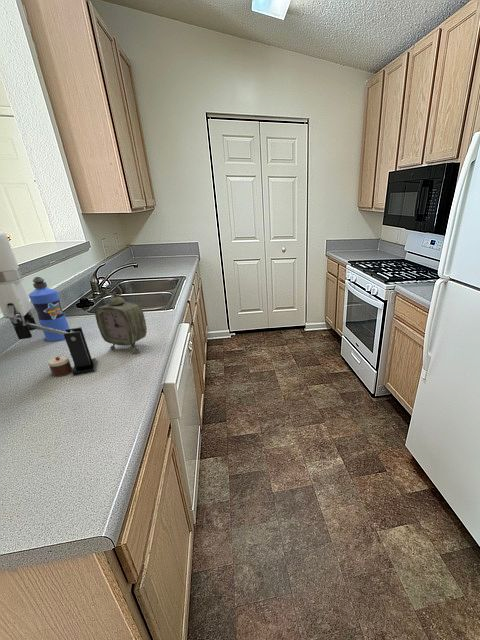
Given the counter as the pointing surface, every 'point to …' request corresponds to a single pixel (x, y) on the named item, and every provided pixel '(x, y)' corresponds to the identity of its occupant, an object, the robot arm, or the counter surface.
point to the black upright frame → (79, 352)
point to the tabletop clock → (121, 321)
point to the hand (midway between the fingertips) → (28, 333)
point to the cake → (60, 366)
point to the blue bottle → (48, 309)
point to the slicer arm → (45, 328)
